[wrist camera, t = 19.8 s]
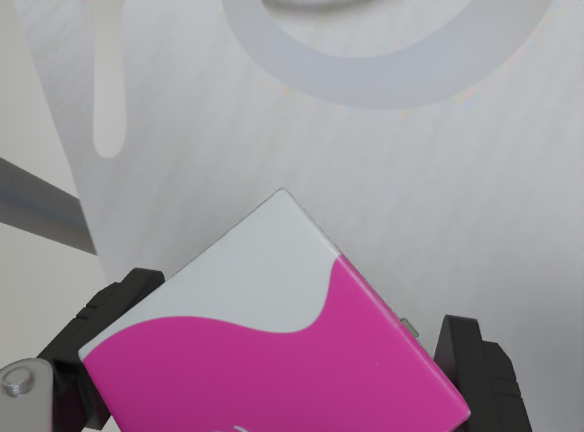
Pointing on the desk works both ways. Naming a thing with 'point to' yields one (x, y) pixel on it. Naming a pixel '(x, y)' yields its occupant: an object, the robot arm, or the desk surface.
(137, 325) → the supplement box
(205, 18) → the desk surface
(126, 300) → the robot arm
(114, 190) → the desk surface
